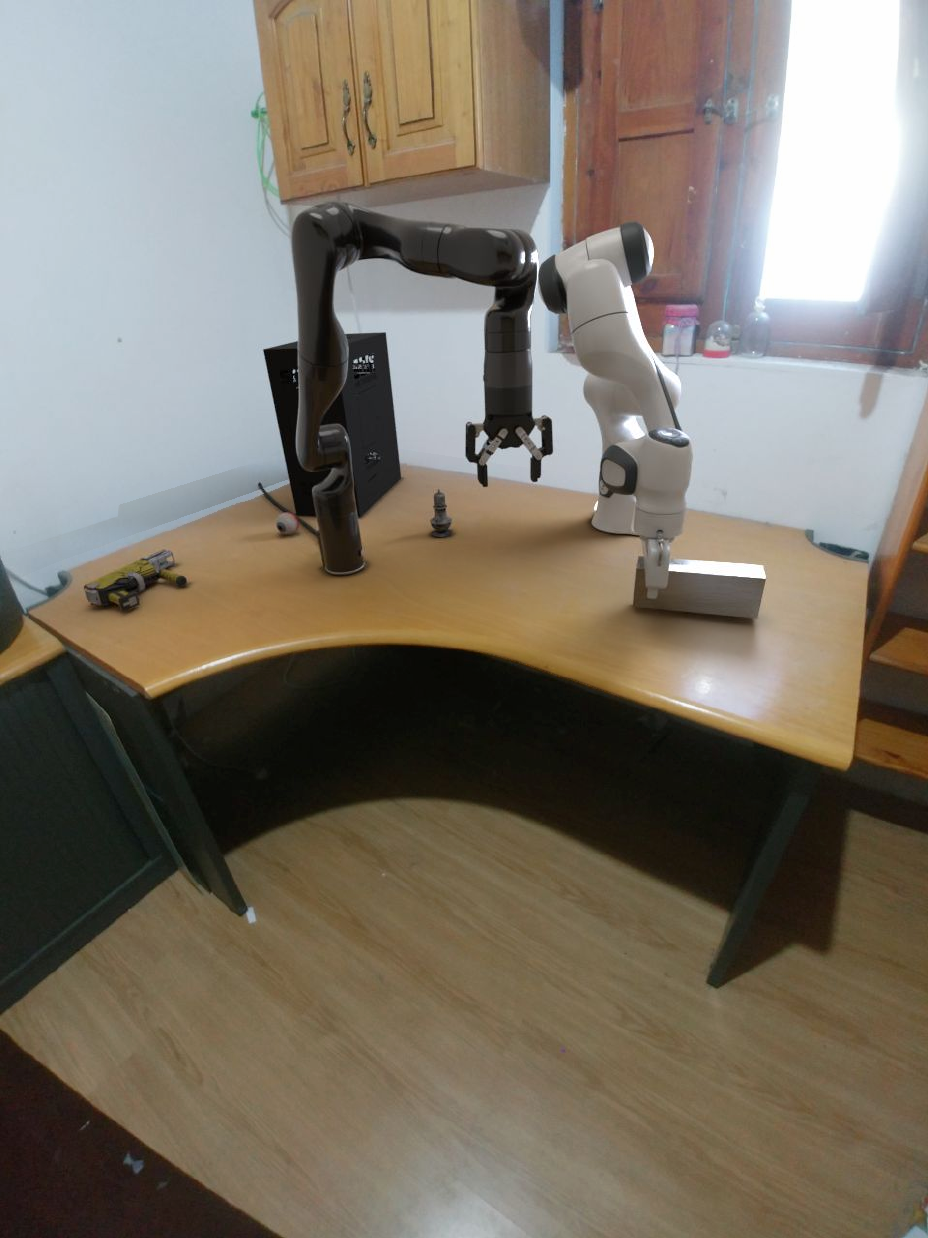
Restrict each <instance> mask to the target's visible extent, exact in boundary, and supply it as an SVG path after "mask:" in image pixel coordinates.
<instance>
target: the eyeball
mask: <svg viewBox="0 0 928 1238" xmlns="http://www.w3.org/2000/svg"><path fill="white" fill-rule="evenodd" d="M292 513H293V512H292ZM292 513H288V512H285V511H284V512H282V513H280V514H279V515H278V516H277V517H276V520H275V527H276V529H277V530H278V531H279V532H280V533H281V534H282V535H285V536H286V535H287V536H289V535H293V534H295V533H296V532H297V531H298V529H299V525H300V522H299V521H298V519H297V517H296V516H297V515H296V514H295V515H296V516H295V515H294V513H293V514H292Z"/></svg>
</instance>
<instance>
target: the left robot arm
mask: <svg viewBox="0 0 928 1238" xmlns="http://www.w3.org/2000/svg"><path fill="white" fill-rule="evenodd" d="M290 233H291V234H290V242H291V243H290V244H291V255H292V257H291V258H292V265H293V274H294V283H295V292H296V311H297V313H296V315H297V341H298V370H297V372H298V380H299V407H298V418H297V429H296V451H297V456H298V460H299V463H300V465H301V466H302V468H303V469H305V470H306V471H309V472H317V471H322V470H327V469H332V470H331V472H330V473H329V475H328V476H327V477H326V478H325V479H323V480H322V481H321V482H319V483H318V484H316V485H315V486H314V487H313V489H312V495H313V501H314V506H315V511H316V516H315V517H316V521H317V527H318V529H317V530H316V529H315V528H314V527H312V526H311V525H310V524H309V523H307V521H304V520H303V519H302V518H300V517H299V515H296V513H295V514H294V512H292V511H290V510H289V509H287V508H286V507H285V506H283V505H281V504H280V503H279V501H277V500H275V499H274V498H273V497H272V496H271V495H270V494H269V493H268V492H267V490H265V488H264V487H263V484H262V482H258V483H257V486H258V487H259V490H260V491H261V492H262V493H263V495H264V496H265V497H266V498H267V499H268V500H269V501H270V502H272V504H274V505H275V506H276V507H277V508H279V509H280V510H282V511H283V512H284V513H285V512H288V513H292V514H294V515H295V516H296V517H297V519H298V521H299V524H302V525H303V526H304V527H305V528H307V529H308V530H309V531H310V532H312V534H314V535H315V536H316V537H317V542H318V546H319V553H320V558H321V563H322V568H323V569H325V571H326V573H327V574H330V575H333V576H347V575H352V574H356V573H358V572H360V571H362V570H363V569H365V566H366V562H365V561H366V560H365V557H364V554H365V545H363V544H362V543H363V541H362V538H361V537H362V536H361V530H360V523H359V517H358V515H357V509H356V502H355V495H354V478H353V470H352V459H351V449H350V442H349V438H348V435H347V432H346V430H345V429H344V427H343V426H342V425H341V424H339V423H331V424H325V425H321V421H322V419H323V417H324V415H325V413H326V412H327V410H328V409H329V407H330V406H331V404H332V403H333V402H334V400H335V399H336V398H337V396H338V395H339V393H340V392H341V390H342V388H343V386H344V384H345V382H346V379H347V371H348V356H349V348H348V341H347V338H346V335H345V334H346V332H345V331H344V328H343V326H342V325H341V322H340V321H339V319H338V316H337V314H336V311H335V286H336V285H335V284H336V279H337V278H336V277H337V274H338V272H340V271H342V270H343V269H346V268H349V267H350V266H352V265H353V264H355V263H356V262H358V261H364V260H375V259H376V260H377V259H378V260H379V259H380V260H387V261H391V262H394V263H396V264H397V265H399V266H401V267H403V268H404V269H405V270H408V271H409V272H411V273H414V274H417V275H421V276H426V277H433V278H440V279H446V280H461V281H463V282H466V283H467V282H468V283H469V284H470V283H471V284H475V285H479V286H483V287H489V288H494V292H493V302H492V305H491V307H490V308H488V309H487V310H486V311H485V314H484V318H483V319H484V320H483V338H484V341H483V343H484V359H483V375H482V381H483V387H484V388H483V389H484V390H483V391H484V395H483V396H484V420H483V422H482V423H481V422H480V423H479V422H477V423H473V422H472V421H467V422H466V423H465V447H464V450H465V452H464V454H465V455H464V456H465V458H466V460H467V461H468V462H469V463H473V464H476V474H477V475H476V476H477V481H478V482H479V484H480V485H481V486H482V487H483V488H488V487H489V477H488V473H489V472H488V465H487V462H489V460H490V458H491V457H492V456H493V455H494V454H495V452H496V451H497V449H500V450H506V449H509V448H514V449H517V448H518V449H519V448H521V446H525V448H526V449H527V451H528V452H529V453H530V454H531V457H530V460H529V464H530V465H529V470H530V472H529V473H530V474H529V475H530V476H529V479H530V481H531V482H532V483H537V482H538V480H539V479H541V478H542V477H541V476H542V461H543V458H545V457H546V456H551V455H552V454H554V438H553V420H552V418H550V417H549V416H548V415H545V414H543V415H541V417H535V418H534V416H533V358H532V321H531V319H532V312H533V307H534V304H535V298H536V297H535V296H536V290H537V286H538V271H539V269H540V266H539V265H540V263H539V253H538V249H537V244H536V242H535V240H534V238H533V237H532V236H531V235H530V234H529V233H528V232H527V231H524V230H522V229H517V228H516V229H515V228H494V227H472V226H471V227H469V226H465V225H463V224H458V223H452V222H443V221H434V220H433V221H432V220H431V221H430V220H419V219H409V218H403V217H398V216H392V215H388V214H385V213H380V212H377V211H373V210H370V209H368V208H365V207H362V206H359V205H356V204H352V203H350V202H346V201H342V200H336V199H330V200H327V201H324V202H321V203H319V204H316V205H314V206H310V207H308V208H305V209H304V210H302V211H301V212H299V213H297V215H296V216H295V218H294V220H293V222H292V225H291V230H290ZM535 427H537V430H538V431H539V432H540V435H541V436H540V437H541V447H537V445H536V443H535V442H533V440H532V438H530V437H529V436H530V435H531V433H532V432H533V430H534V429H535ZM481 432H484V433H485V435H486V436H487V438H486V440H485V441H484V443H483V444H482V447H481V449H480V451H479V452H478V453H476V440H477V439H478V438H479V437H480V435H481Z"/></svg>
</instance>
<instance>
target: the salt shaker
mask: <svg viewBox="0 0 928 1238" xmlns="http://www.w3.org/2000/svg"><path fill="white" fill-rule="evenodd" d="M432 508H433V509H434V516H433V517H432V518H431V519H430V520H429V523H430V525H431V527H432V528H433V531H432V532H431V535H432V536H433V537H437V538H444V537H448V536H450V535H452V533H453V531H452V530H451V529H450V528H451V525H452V522H453V519H452V517H450V516H448V514H447V508H448V505H447V504H446V495H445V493H443V492H441V490H440V489H439V488H438V489H437V492H435V493H434V494H433V506H432Z"/></svg>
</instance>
